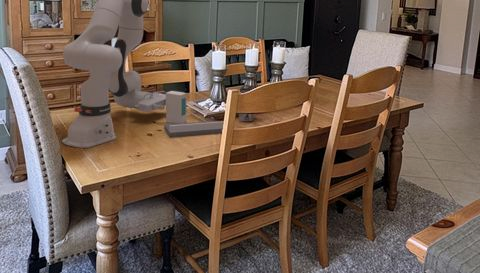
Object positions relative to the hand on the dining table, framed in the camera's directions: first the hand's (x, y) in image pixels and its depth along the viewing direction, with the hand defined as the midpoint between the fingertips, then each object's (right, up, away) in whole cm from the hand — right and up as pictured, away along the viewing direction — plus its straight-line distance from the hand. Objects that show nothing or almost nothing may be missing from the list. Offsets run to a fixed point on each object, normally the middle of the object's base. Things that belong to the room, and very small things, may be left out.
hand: (169, 105), depth 233 cm
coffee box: (+37, -6, +8) cm, 38 cm away
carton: (+3, -8, +1) cm, 8 cm away
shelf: (+13, -12, -11) cm, 21 cm away
